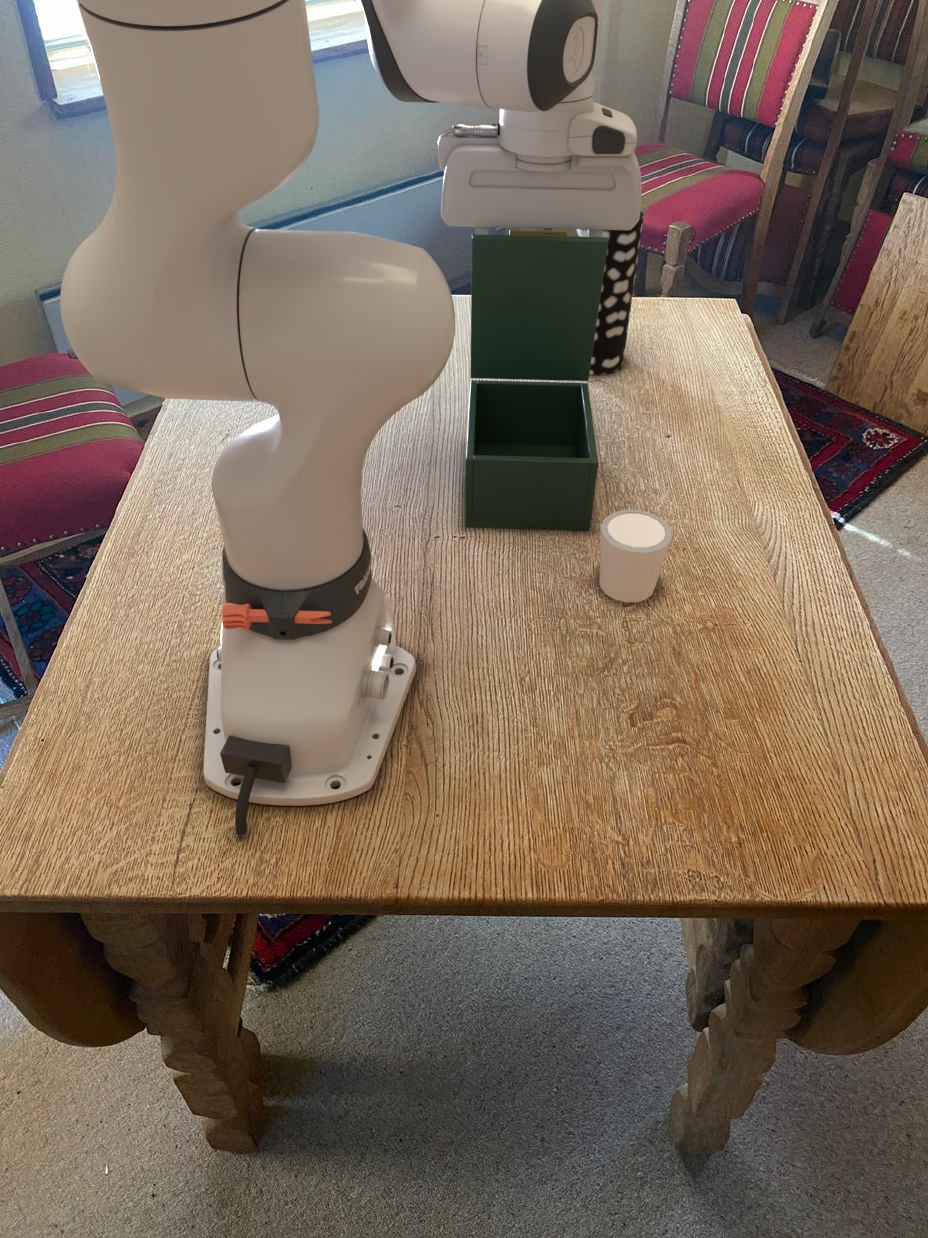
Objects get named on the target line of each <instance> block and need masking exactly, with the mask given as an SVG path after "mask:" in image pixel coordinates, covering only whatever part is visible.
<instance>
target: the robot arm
mask: <svg viewBox="0 0 928 1238" xmlns="http://www.w3.org/2000/svg"><path fill="white" fill-rule="evenodd" d="M76 2H77V6H78V9H79V13H80V16H81V19H82V23H83V27H84V29H85V33H86V35H87V40H88V43H89V46H90V49H91V53H92V57H93V60H94V64H95V67H96V68H95V69H96V71H97V75H98V78H99V79H98V80H99V82H100V86H101V90H102V96H103V99H104V103H105V108H106V111H107V116H108V121H109V124H110V130H111V133H112V138H113V144H114V152H115V162H116V163H115V164H116V165H115V166H116V169H115V170H116V171H115V173H116V174H115V184H114V190H113V191H114V192H113V196H112V199H111V203H110V205H109V208H108V210H107V212H106V214H105V217H104V218H103V220H102V221H101V223H100V224H99V226H98V227H97V228H96V229H95V230H94V231H93V233H91V234H90V235H89V236H88V237H86V239H84V240H83V241H82V242H81V243H80V245H79V246H78V247H77V248H76V250H75V251H74V252H73V254H72V256H71V258H70V260H69V261H68V263H67V266H66V268H65V271H64V273H63V277H62V280H61V286H60V295H59V296H60V298H59V307H60V308H59V309H60V317H61V322H62V326H63V330H64V332H65V333H64V334H65V335H66V338H67V340H68V342H69V345H70V347H71V349H72V350H73V353H74V354H75V357H76V358H77V359H78V360H79V361H80V363H81V364H82V365H83V367H84V368H85V369H86V371H88V372H89V374H90V375H91V376H92V377H93V378H95V380H97V381H98V382H100V383H102V384H106V385H108V386H109V385H110V386H113V387H116V388H120V389H124V390H128V391H133V392H137V393H140V394H146V395H150V396H154V397H159V398H163V399H168V400H193V401H195V400H196V401H220V402H221V401H222V402H251V403H261V404H265V405H270V406H272V407H274V408H275V409H276V411H277V414H276V415H274V416H272V417H269V418H267V419H265V420H263V421H260V422H259V423H257V424H254V425H253V426H250V427H249V428H248V429H246V430H244V431H242V432H241V433H240V434H239V435H237V436H236V437H234V439H233V440H231V442H229V443H228V444H227V445H226V446H225V447H224V449H223V450H222V451H221V453H220V454H219V456H218V457H217V460H216V462H215V464H214V467H213V471H212V476H211V491H212V496H213V501H214V505H215V509H216V514H217V520H218V524H219V529H220V533H221V538H222V541H223V548H222V553H221V559H222V564H221V565H222V568H221V577H222V586H223V589H221V590H220V592H219V596H220V599H221V603H222V613H221V614H222V616H221V628H220V637H219V640H220V646H218V647H217V648H216V649H215V650H213V651H212V652H211V653H210V655H209V656H210V657H209V667H208V684H207V699H206V701H207V702H206V719H205V720H206V721H205V735H204V752H203V769H202V771H203V772H202V773H203V779H204V783H205V785H206V786H208V787H209V788H210V789H211V790H213V791H215V792H216V793H219V794H220V795H223V796H225V797H228V798H231V799H233V800H237V801H236V806H235V815H234V816H235V817H234V818H235V820H234V821H235V823H234V824H235V826H234V827H235V835H237V836H245V835H246V834H247V833H248V831H247V829H248V827H247V821H248V820H247V816H248V815H247V814H248V807H249V803H252V804H259V805H267V806H269V805H270V806H282V807H283V806H286V807H293V806H295V807H297V806H300V807H302V806H303V807H304V806H318V805H319V806H320V805H326V804H333V803H337V802H341V801H345V800H349V799H352V798H355V797H357V796H359V795H361V794H363V793H366V792H367V791H369V790H370V789H371V788H372V787H373V785H374V784H375V782H376V779H377V777H378V774H379V772H380V770H381V766H382V763H383V761H384V759H385V755H386V753H387V750H388V747H389V745H390V742H391V739H392V737H393V734H394V732H395V728H396V726H397V723H398V721H399V718H400V715H401V713H402V710H403V708H404V704H405V702H406V699H407V696H408V694H409V691H410V688H411V687H412V683H413V680H414V678H415V676H416V672H417V662H416V659H415V657H414V656H413V655H412V654H411V653H410V652H409V651H407V650H405V649H403V648H402V647H400V646H398V645H397V640H396V639H397V638H396V629H395V621H394V613H393V606H392V605H393V604H392V597H391V596H390V595H389V594H388V593H387V591H385V590H384V589H383V588H382V587H381V586H380V585H379V584H378V583H377V582H376V580H375V579H374V578H373V577H372V576H373V572H372V570H373V569H372V565H373V561H372V560H373V557H372V550H371V546H370V543H369V542H370V541H369V538H368V534H367V532H366V530H365V529H364V528H363V517H362V515H363V513H362V480H363V479H362V477H363V469H364V464H365V460H366V456H367V453H368V451H369V449H370V446H371V444H372V442H373V440H374V439H375V437H376V436H377V435H378V433H379V431H380V430H381V429H382V428H383V427H384V426H385V424H386V423H387V422H388V421H389V420H390V419H392V417H393V416H394V415H395V414H397V412H399V411H400V410H402V408H404V407H405V406H407V405H408V404H410V403H412V402H413V401H415V400H416V399H418V398H419V397H422V396H423V395H424V394H425V393H426V392H427V391H428V390H429V389H430V388H431V387H432V386H433V385H434V384H435V383H436V381H437V380H438V378H439V377H440V376H441V374H442V372H443V371H444V369H445V367H446V365H447V363H448V360H449V358H450V356H451V353H452V349H453V346H454V342H455V341H454V340H455V335H456V311H455V305H454V299H453V295H452V292H451V288H450V286H449V284H448V281H447V280H446V277H445V275H444V273H443V271H442V270H441V268H440V267H439V265H438V264H437V262H436V261H435V260H434V258H433V257H432V256H431V255H430V254H429V252H427V251H426V250H425V249H424V248H423V247H420V246H415V245H412V244H409V243H404V242H401V241H397V240H393V239H389V238H384V237H381V236H377V235H371V234H367V233H363V232H358V231H336V230H335V231H334V230H332V231H331V230H330V231H329V230H300V229H299V230H296V229H295V230H294V229H265V228H263V229H261V228H258V227H256V226H255V227H254V226H249V225H247V224H245V223H244V222H243V221H242V219H240V216H239V213H238V212H240V211H241V210H243V209H246V208H247V207H249V206H251V205H253V204H255V203H257V202H259V201H262V200H263V199H265V198H266V197H268V196H270V195H271V194H273V193H275V192H277V191H278V190H279V189H280V188H282V187H283V186H284V185H285V184H287V183H288V182H289V181H290V180H291V179H292V178H293V177H294V176H295V175H296V174H297V173H298V172H299V171H300V170H301V169H302V167H303V166H304V164H306V162H307V160H308V159H309V157H310V155H311V153H312V151H313V149H314V146H315V144H316V141H317V136H318V132H319V124H320V110H319V100H318V92H317V85H316V76H315V67H314V60H313V53H312V45H311V36H310V28H309V21H308V13H307V5H306V4H307V3H306V0H76ZM360 4H361V7H362V10H363V14H364V20H365V28H366V39H367V46H368V51H369V57H370V60H371V64H372V67H373V68H374V70H375V72H376V74H377V76H378V78H379V80H380V81H381V83H382V84H383V85H384V86H385V88H386V89H387V90H388V91H389V93H390V94H391V95H392V96H393V97H394V98H395V99H397V100H398V101H400V102H403V103H425V104H426V103H429V104H437V103H445V104H453V105H459V106H468V107H476V108H483V109H492V110H493V109H497V110H499V122H498V123H478V124H476V123H475V124H467V123H465V122H464V123H463V122H459V123H453V124H452V127H449V128H447V129H445V130H444V131H443V132H442V133H441V134H440V135H439V137H438V140H437V144H436V145H437V146H436V147H437V153H436V155H437V163H438V166H439V169H441V170H442V172H443V173H444V174H443V180H442V190H441V199H440V200H441V202H440V217H441V219H442V220H443V221H444V223H445V224H446V225H447V226H449V227H463V228H464V227H465V228H471V227H472V228H474V234H482V235H489V228H509V229H511V228H514V229H548V230H550V229H553V230H554V229H555V230H576V229H587V233H588V237H602V233H603V230H631V229H632V228H633V227H634V226H635V225H636V224H637V222H638V221H639V218H640V210H641V211H642V172H641V167H640V164H639V161H638V158H637V156H636V153H635V151H636V148H637V143H638V131H637V127H636V126H635V123H634V121H633V120H632V118H630V116H629V115H628V114H626V113H623V112H622V111H619V110H615V109H613V108H610V107H608V106H605V105H603V104H600V103H598V102H595V101H594V99H595V88H596V87H595V79H594V73H593V69H594V63H595V58H596V50H597V47H598V44H599V42H600V37H601V25H602V15H603V0H360ZM236 784H238V785H236ZM335 787H338V788H336V789H335Z"/></svg>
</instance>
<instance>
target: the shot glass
mask: <svg viewBox="0 0 928 1238" xmlns="http://www.w3.org/2000/svg"><path fill="white" fill-rule="evenodd" d="M672 537H673V532H672V529H671V526H670V525H669V523H667V521H665V519H663V518H662V517H660V516H658V515H657V514H654V513H653V512H649V511H645V510H641V509H622V510H618V511H614V512H612V513H610V514H609V515H608V516H605V517H604V519H603V521H602V523H601V525H600V538H599V576H598V578H599V579H598V580H599V581H598V582H599V587H600V589H601V590H602V591H603V593H604V594H605V595H606V596H608V597H609V598H611V599H613V600H615V601H618V602H623V603H639V602H642V601H645V600H648V599H649V598H650V597H651V596H652V595H654V592H655V588H656V585H657V583H658V580H659V577H660V574H661V570H662V568H663V565H664V561H665V558H666V556H667V552H668V549H669V546H670V543H671V540H672Z"/></svg>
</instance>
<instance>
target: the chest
mask: <svg viewBox="0 0 928 1238" xmlns="http://www.w3.org/2000/svg"><path fill="white" fill-rule="evenodd" d="M468 401H469V402H468V412H467V413H468V416H467V432H466V450H465V484H464V485H465V486H464V487H465V489H464V490H465V492H464V493H465V494H464V495H465V496H464V527H465V528H473V529H475V528H476V529H508V530H509V529H511V530H543V531H545V530H547V531H580V532H581V531H583V532H586V531H587V532H589V531H590V530H591V523H592V517H593V516H592V515H593V509H594V501H595V500H594V499H595V492H596V485H597V477H598V469H599V457H598V449H597V442H596V435H595V427H594V420H593V412H592V403H591V397H590V390H589V383H588V382H568V381H565V382H564V381H528V380H522V381H521V380H520V381H519V380H488V379H486V380H485V379H478V380H476V379H471V380H470V381H469V398H468Z"/></svg>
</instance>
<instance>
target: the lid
mask: <svg viewBox="0 0 928 1238" xmlns="http://www.w3.org/2000/svg"><path fill="white" fill-rule="evenodd" d="M607 247H608V237H575V236H571V235H570V236H568V231H567V230H550V229H544V230H543V229H509V230H508V234H488V235H482V234H475V233H473V234H471V274H470V275H471V279H470V280H471V281H470V282H471V283H470V284H471V285H470V286H471V288H470V289H471V290H470V292H471V293H470V376H469V377H470V379H479V380H485V379H486V380H520V381H521V380H522V381H559V382H564V381H565V382H589V379H590V374H589V373H590V366H591V359H592V352H593V345H594V338H595V331H596V324H597V317H598V310H599V303H600V296H601V289H602V282H603V275H604V268H605V261H606V254H607Z"/></svg>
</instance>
